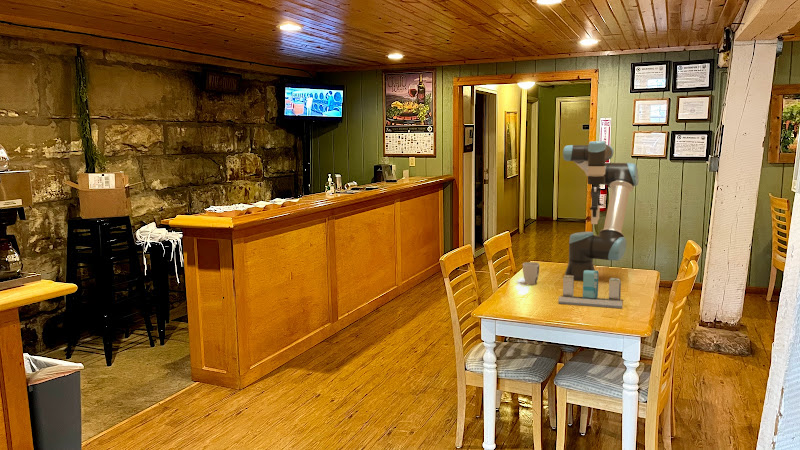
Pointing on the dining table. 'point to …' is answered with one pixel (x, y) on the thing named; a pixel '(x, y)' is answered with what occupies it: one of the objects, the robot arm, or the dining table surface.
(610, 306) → the rail plate
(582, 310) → the dining table surface
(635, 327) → the dining table surface
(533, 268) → the cup
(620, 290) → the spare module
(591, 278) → the data package
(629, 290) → the dining table surface
